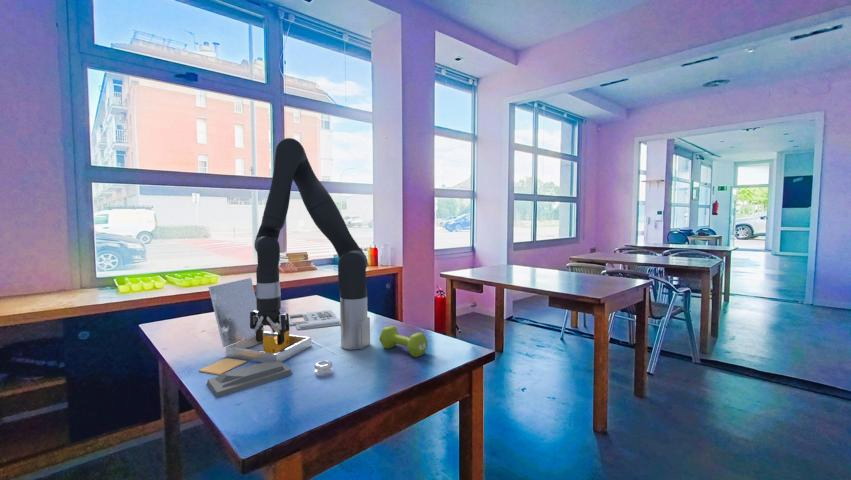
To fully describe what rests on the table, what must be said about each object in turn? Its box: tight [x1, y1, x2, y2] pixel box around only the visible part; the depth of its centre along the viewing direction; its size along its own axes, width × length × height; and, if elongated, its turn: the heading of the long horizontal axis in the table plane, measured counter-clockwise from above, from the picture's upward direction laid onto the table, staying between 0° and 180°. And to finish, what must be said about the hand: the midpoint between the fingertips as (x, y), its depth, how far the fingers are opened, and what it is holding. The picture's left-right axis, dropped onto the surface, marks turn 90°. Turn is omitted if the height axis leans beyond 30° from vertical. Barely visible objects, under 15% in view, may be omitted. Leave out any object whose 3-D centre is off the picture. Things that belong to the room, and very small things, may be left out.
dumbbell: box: [379, 325, 428, 358], centre depth 131 cm, size 16×8×7 cm, turn 51°
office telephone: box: [288, 309, 341, 331], centre depth 167 cm, size 23×3×20 cm
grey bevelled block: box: [206, 360, 293, 398], centre depth 110 cm, size 10×20×4 cm, turn 133°
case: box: [225, 330, 312, 363], centre depth 132 cm, size 20×19×3 cm
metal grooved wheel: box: [314, 360, 333, 377], centre depth 114 cm, size 5×3×5 cm
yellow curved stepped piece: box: [262, 328, 291, 353], centre depth 132 cm, size 12×4×6 cm, turn 171°
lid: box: [207, 277, 265, 348], centre depth 135 cm, size 20×18×1 cm
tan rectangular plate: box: [198, 357, 247, 376], centre depth 118 cm, size 8×10×1 cm
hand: (270, 342), depth 131 cm, fingers open, 8 cm apart
